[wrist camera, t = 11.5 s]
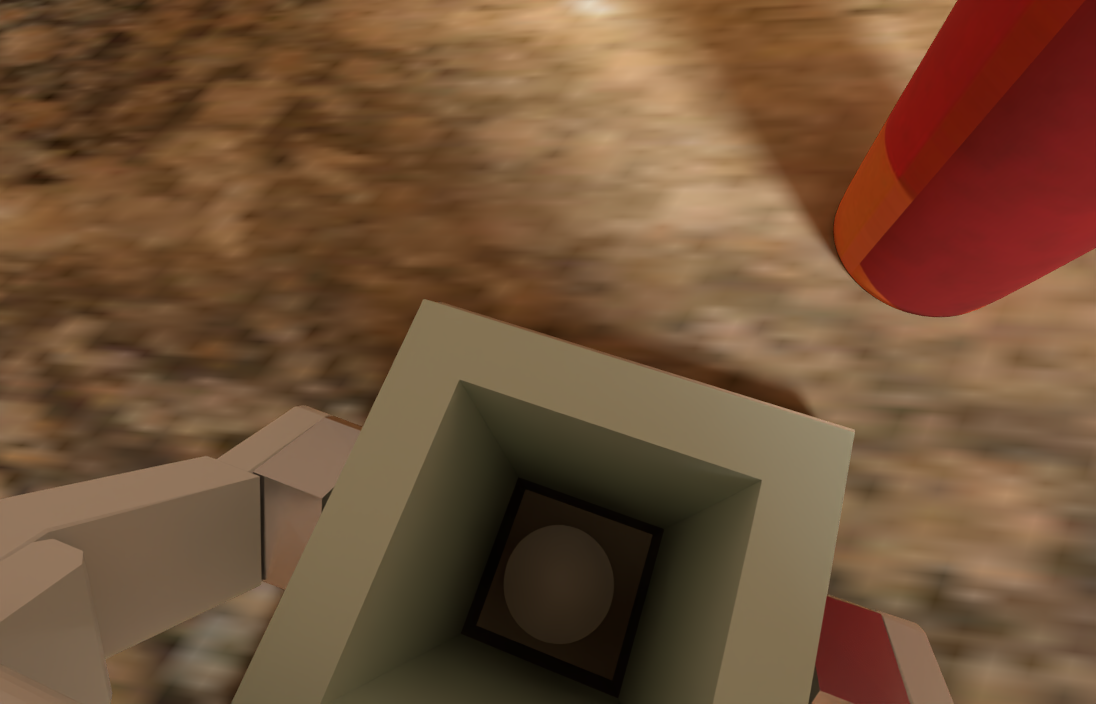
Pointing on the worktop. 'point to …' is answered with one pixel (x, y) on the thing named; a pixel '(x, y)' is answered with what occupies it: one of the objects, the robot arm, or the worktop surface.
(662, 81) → the worktop surface
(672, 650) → the sleeve
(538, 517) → the pin board
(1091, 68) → the paper cup
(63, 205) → the worktop surface
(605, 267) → the worktop surface
